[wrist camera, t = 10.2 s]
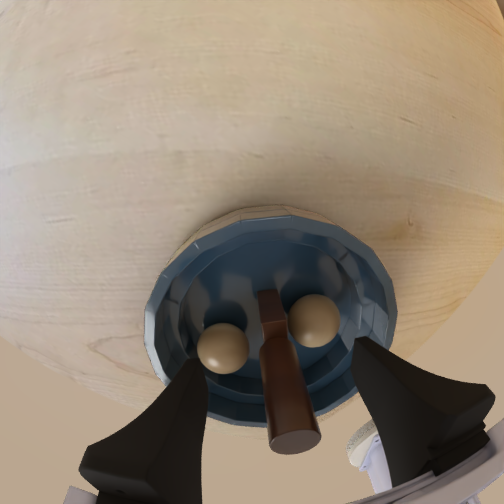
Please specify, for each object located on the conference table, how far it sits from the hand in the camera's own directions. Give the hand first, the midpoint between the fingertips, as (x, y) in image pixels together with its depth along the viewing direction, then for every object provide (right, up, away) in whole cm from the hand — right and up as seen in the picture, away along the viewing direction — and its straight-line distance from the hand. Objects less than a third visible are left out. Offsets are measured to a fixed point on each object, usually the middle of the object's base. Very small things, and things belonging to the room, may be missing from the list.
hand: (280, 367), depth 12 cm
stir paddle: (0, +1, +4) cm, 5 cm away
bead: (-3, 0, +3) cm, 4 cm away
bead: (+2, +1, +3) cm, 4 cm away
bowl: (0, +2, +5) cm, 5 cm away
